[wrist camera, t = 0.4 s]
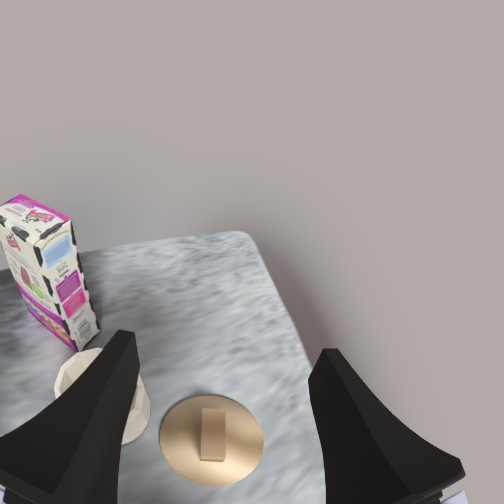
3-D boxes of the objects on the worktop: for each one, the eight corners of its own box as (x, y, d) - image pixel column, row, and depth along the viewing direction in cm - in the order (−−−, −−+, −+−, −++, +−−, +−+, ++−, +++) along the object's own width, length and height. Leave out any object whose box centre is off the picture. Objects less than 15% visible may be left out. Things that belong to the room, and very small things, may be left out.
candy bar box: (103, 329, 31) (74, 216, 22) (80, 356, 28) (33, 245, 18) (51, 292, 33) (21, 190, 24) (29, 313, 30) (-12, 211, 20)
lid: (264, 486, 21) (273, 483, 18) (156, 480, 19) (152, 476, 17) (259, 400, 29) (266, 387, 27) (165, 393, 27) (162, 379, 25)
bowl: (145, 454, 21) (136, 443, 18) (64, 432, 20) (45, 417, 17) (155, 379, 28) (150, 357, 25) (83, 364, 27) (70, 341, 24)
